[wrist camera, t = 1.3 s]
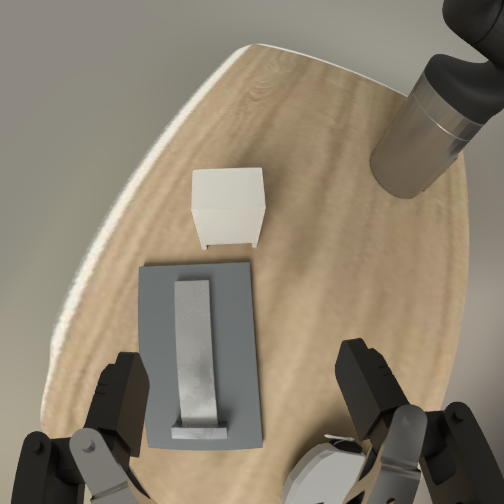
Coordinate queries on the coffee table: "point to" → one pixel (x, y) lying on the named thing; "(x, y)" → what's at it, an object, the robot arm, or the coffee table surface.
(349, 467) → the robot toy
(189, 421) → the rail
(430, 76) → the robot arm
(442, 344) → the coffee table surface
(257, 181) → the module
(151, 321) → the rail board
